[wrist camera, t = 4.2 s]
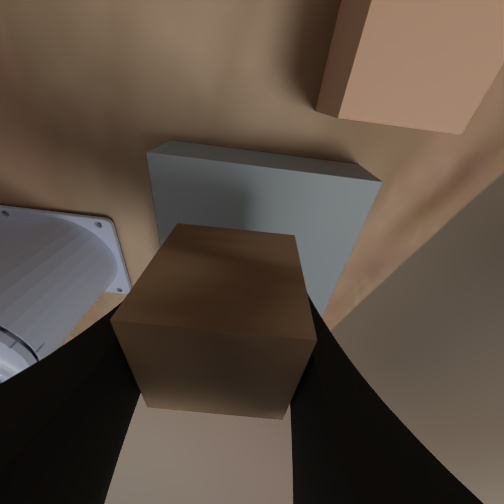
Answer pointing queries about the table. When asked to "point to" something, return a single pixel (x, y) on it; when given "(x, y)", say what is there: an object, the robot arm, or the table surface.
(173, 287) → the walnut cube
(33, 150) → the table surface
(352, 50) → the terracotta cube
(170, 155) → the base block
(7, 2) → the table surface
